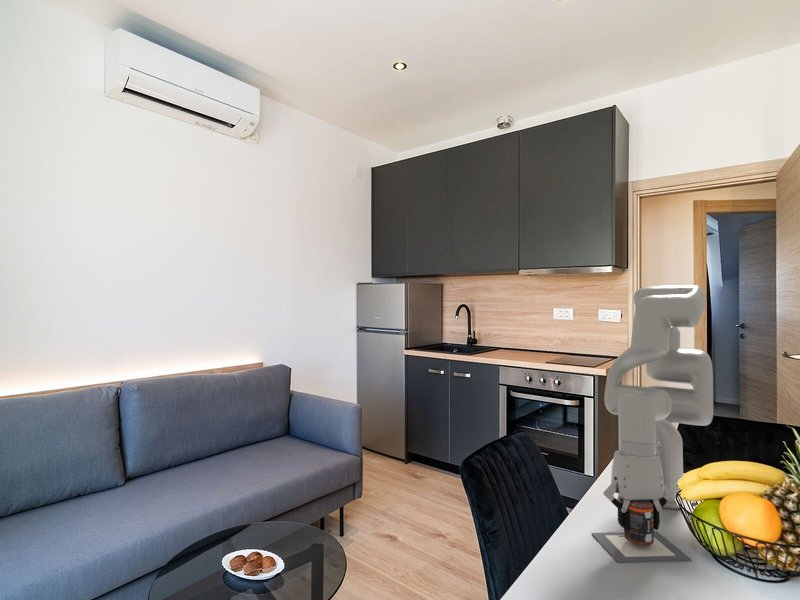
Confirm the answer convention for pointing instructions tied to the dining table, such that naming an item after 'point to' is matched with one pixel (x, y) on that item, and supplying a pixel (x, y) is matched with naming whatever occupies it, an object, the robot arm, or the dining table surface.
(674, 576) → the dining table surface
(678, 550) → the mat
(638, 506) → the supplement bottle
